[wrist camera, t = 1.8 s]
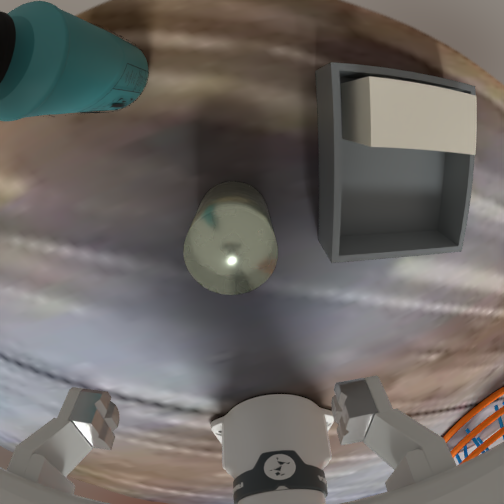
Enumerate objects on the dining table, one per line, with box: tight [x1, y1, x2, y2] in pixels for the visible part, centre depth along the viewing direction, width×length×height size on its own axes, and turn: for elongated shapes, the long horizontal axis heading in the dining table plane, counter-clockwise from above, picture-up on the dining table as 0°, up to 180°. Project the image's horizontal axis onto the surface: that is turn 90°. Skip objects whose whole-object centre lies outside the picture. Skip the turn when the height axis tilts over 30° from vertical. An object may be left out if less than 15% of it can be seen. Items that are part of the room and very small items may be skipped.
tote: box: [315, 62, 476, 263], centre depth 25 cm, size 16×14×5 cm
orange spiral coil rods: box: [443, 387, 504, 465], centre depth 43 cm, size 34×35×24 cm
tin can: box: [183, 181, 278, 295], centre depth 25 cm, size 6×6×8 cm
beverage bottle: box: [0, 1, 149, 121], centre depth 14 cm, size 6×7×20 cm
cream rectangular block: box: [341, 76, 477, 155], centre depth 21 cm, size 5×10×6 cm, turn 93°
